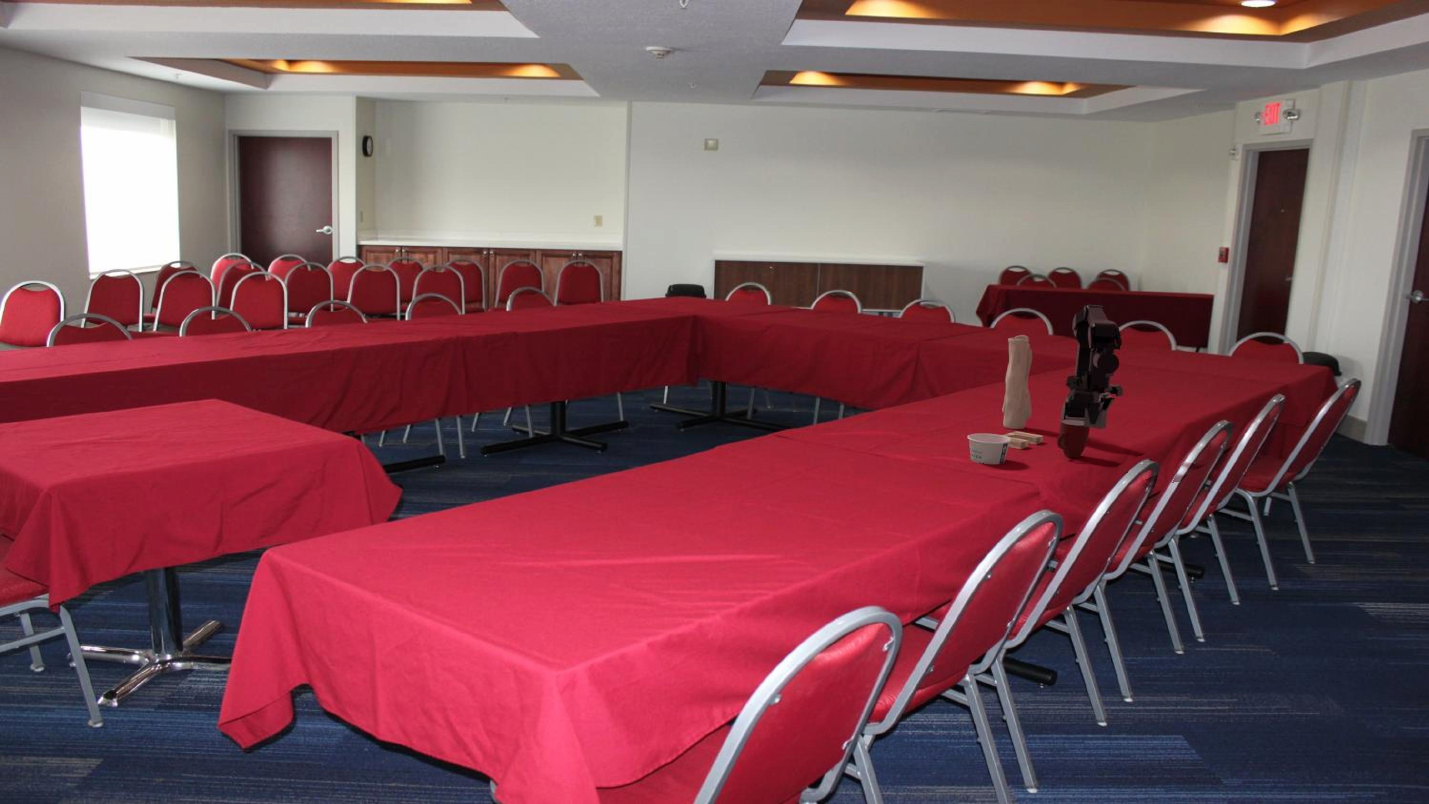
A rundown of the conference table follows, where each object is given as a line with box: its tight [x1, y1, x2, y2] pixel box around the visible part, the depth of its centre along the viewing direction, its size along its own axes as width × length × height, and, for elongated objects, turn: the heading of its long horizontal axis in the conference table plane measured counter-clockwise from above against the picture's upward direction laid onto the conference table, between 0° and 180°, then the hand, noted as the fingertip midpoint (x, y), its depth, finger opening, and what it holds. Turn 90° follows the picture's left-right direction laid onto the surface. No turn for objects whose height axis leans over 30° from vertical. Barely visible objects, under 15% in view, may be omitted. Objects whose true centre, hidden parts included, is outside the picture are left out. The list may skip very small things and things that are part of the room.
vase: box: [1001, 334, 1033, 430], centre depth 344 cm, size 9×8×30 cm
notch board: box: [1002, 430, 1044, 450], centre depth 324 cm, size 14×9×2 cm, turn 136°
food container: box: [967, 433, 1011, 465], centre depth 301 cm, size 12×12×6 cm
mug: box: [1056, 419, 1091, 459], centre depth 306 cm, size 10×8×10 cm
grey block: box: [1084, 408, 1108, 430], centre depth 296 cm, size 3×5×5 cm, turn 45°
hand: (1095, 423), depth 297 cm, fingers closed on grey block, 3 cm apart
